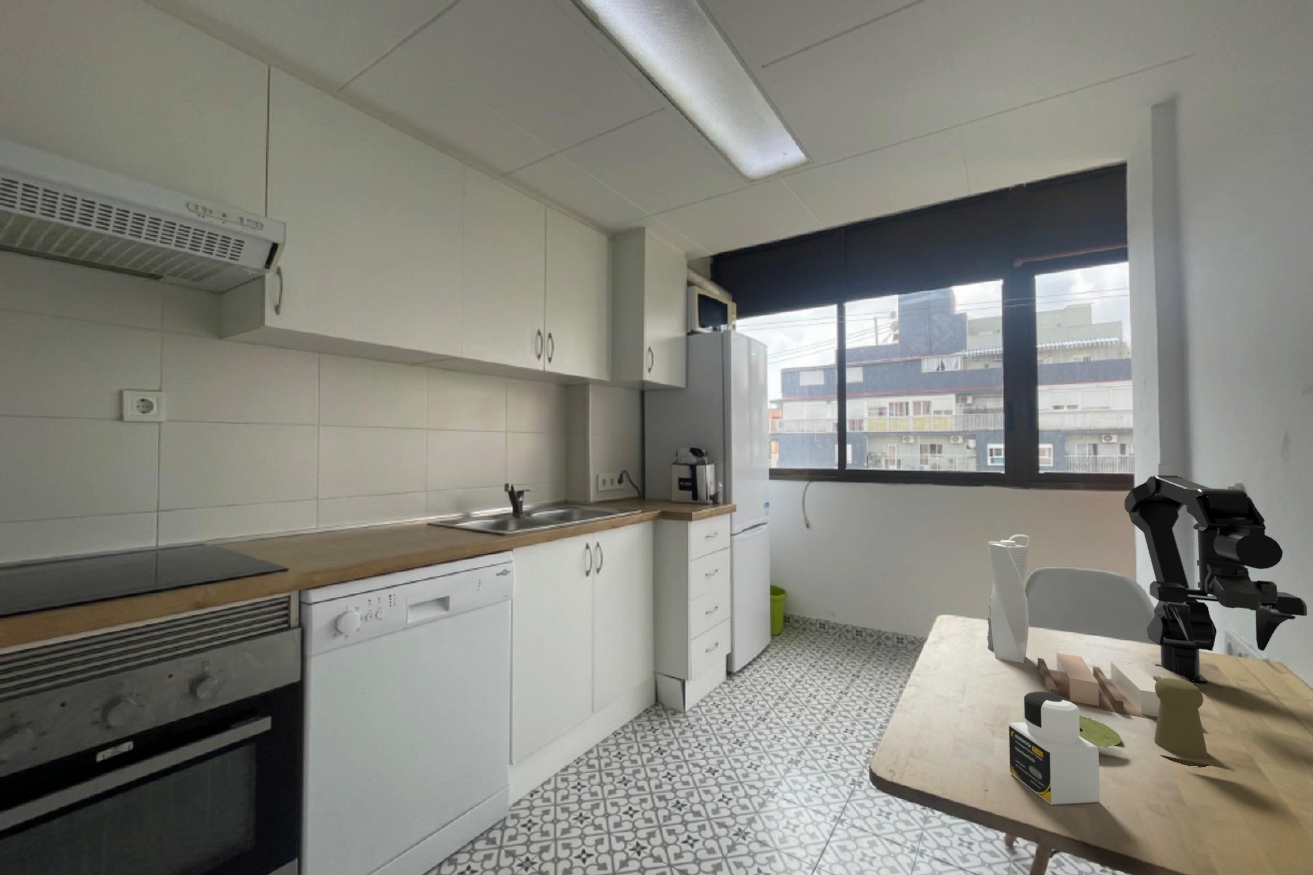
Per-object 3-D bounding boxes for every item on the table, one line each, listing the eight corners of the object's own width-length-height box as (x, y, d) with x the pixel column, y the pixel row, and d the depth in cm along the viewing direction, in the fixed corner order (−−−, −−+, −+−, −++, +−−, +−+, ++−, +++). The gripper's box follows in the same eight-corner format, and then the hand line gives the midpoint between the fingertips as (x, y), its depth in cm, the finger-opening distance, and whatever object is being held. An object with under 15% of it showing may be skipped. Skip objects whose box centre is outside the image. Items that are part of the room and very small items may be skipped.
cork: (1221, 769, 76) (1218, 691, 76) (1172, 764, 77) (1169, 688, 77) (1188, 747, 82) (1185, 674, 82) (1143, 742, 83) (1140, 671, 83)
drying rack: (1038, 673, 110) (1037, 657, 110) (1160, 693, 100) (1160, 676, 100) (1051, 706, 95) (1050, 688, 95) (1196, 734, 85) (1195, 714, 86)
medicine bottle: (1008, 773, 75) (1006, 687, 75) (1055, 770, 75) (1053, 685, 76) (1050, 806, 68) (1047, 711, 68) (1101, 803, 68) (1098, 709, 69)
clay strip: (1111, 682, 102) (1110, 661, 103) (1137, 685, 101) (1137, 664, 101) (1141, 713, 90) (1140, 690, 90) (1172, 718, 88) (1171, 694, 88)
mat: (1015, 729, 87) (1015, 717, 87) (1057, 716, 91) (1057, 704, 91) (1094, 766, 77) (1094, 752, 77) (1137, 749, 81) (1137, 736, 81)
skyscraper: (1032, 659, 117) (1029, 532, 118) (1034, 672, 110) (1031, 537, 111) (987, 652, 121) (984, 530, 122) (987, 663, 114) (984, 534, 116)
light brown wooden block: (1057, 672, 107) (1056, 652, 107) (1082, 677, 105) (1081, 656, 105) (1070, 700, 95) (1069, 677, 95) (1098, 705, 93) (1098, 682, 93)
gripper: (1167, 560, 93) (1170, 650, 93) (1325, 572, 84) (1329, 671, 84) (1147, 551, 103) (1150, 632, 102) (1286, 560, 94) (1290, 649, 93)
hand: (1224, 645), depth 95 cm, fingers open, 9 cm apart
